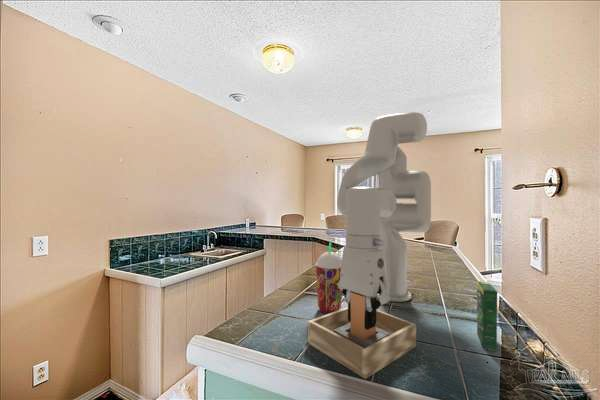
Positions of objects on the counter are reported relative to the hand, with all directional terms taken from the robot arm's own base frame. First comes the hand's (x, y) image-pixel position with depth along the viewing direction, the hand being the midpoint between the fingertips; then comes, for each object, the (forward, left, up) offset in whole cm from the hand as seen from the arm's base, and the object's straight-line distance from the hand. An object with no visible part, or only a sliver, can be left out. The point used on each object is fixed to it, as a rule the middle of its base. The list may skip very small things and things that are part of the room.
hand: (361, 322), depth 62 cm
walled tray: (0, 0, -5) cm, 5 cm away
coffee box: (-24, +17, -5) cm, 30 cm away
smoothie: (-8, -18, -5) cm, 20 cm away
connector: (-1, 0, -3) cm, 3 cm away
